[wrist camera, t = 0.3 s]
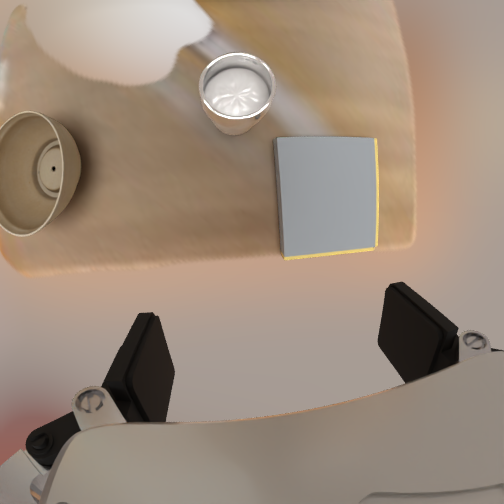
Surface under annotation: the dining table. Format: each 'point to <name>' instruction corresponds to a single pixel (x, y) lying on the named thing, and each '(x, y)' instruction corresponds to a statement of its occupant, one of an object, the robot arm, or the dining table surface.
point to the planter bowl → (35, 172)
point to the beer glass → (236, 91)
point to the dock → (327, 195)
